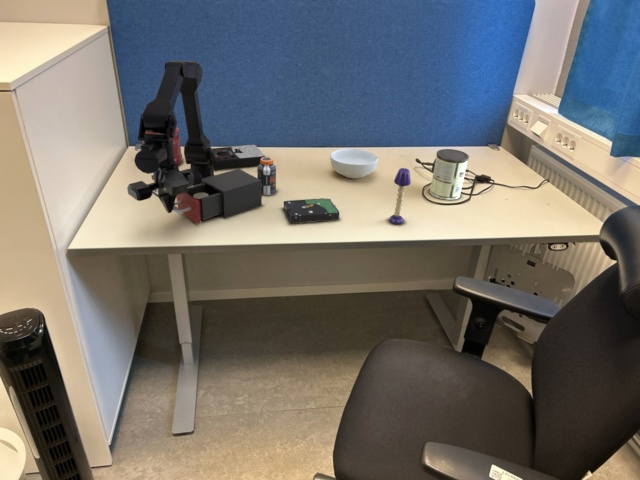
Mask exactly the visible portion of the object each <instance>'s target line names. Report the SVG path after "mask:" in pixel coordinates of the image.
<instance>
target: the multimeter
mask: <svg viewBox="0 0 640 480" xmlns="http://www.w3.org/2000/svg"><path fill="white" fill-rule="evenodd" d="M211 148H212V147H211ZM212 149H213V151H214V153H215V155H216V164H215V165H213V166H212V167H213V168H214V171H224V170H225V171H226V170H236V169H243V168H252V167H253V168H255V167H258V165H259V164H261V163H260V160H261V158H263V157H266V155H265V154H264V153H263V152H262V151H261V150H260V149H259V148H258V146H257V145H255V144H247V145H237V146H235V145H234V146H225V147H224V146H223V147H213V148H212Z"/></svg>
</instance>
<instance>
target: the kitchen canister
mask: <svg viewBox="0 0 640 480" xmlns="http://www.w3.org/2000/svg"><path fill="white" fill-rule="evenodd" d="M180 131H181V130H180V128H179V127H178V126H176V130H175V135H174V138H172V140H173V148H174V158H175V162H176V163H178V166H180V165H181V164H182V163H183V153H182V147H181V146H182V145H181V137H180V136H179V133H180ZM145 134H157V133H150V132H147V131H146V132H145ZM141 143H142V144H144V141H141Z"/></svg>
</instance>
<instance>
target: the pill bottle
mask: <svg viewBox="0 0 640 480" xmlns="http://www.w3.org/2000/svg"><path fill="white" fill-rule="evenodd" d="M260 163H261V164H259V165H258V166H257V167H256V168H257V172H256V173H257V175H256V176H257V177H256V178H258V179H260V180H261V183H262V196H263V195H264V196H269V195H270V196H271V195H274V194H276V192H277V166H276V165H275V164H274V158H273V157H270V156H265V157H263V158H261V160H260Z"/></svg>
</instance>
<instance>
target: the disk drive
mask: <svg viewBox="0 0 640 480" xmlns="http://www.w3.org/2000/svg"><path fill="white" fill-rule="evenodd" d="M283 210H284V212H285V214H286V216H287V219H288V221H289V223H290V224H302V223H303V224H304V223H315V222H327V221H328V222H329V221H337V220H339V219H340V211H339V209H338V208H337V206H336V205H335V204H334V202H333V200H332V199H331V198H310V199H294V200H293V199H291V200H283Z"/></svg>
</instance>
